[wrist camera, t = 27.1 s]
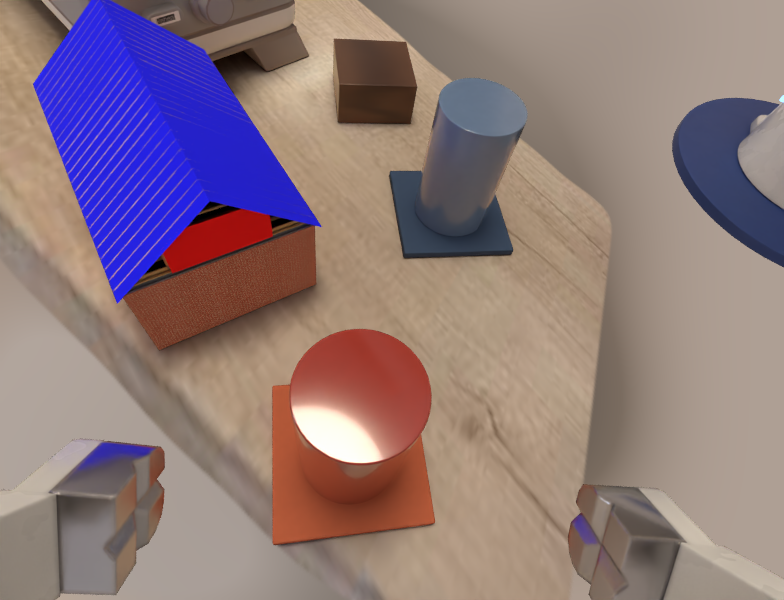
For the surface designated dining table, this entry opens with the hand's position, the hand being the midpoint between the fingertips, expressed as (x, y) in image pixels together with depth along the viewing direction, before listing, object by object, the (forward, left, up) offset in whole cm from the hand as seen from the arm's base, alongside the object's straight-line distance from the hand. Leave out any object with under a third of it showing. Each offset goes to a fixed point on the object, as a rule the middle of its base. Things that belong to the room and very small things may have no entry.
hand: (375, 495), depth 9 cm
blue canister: (-11, -24, -19) cm, 33 cm away
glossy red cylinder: (-1, -5, -19) cm, 20 cm away
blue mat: (-11, -24, -20) cm, 33 cm away
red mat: (-1, -5, -20) cm, 21 cm away
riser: (-6, -39, -20) cm, 45 cm away
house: (+10, -24, -20) cm, 33 cm away
